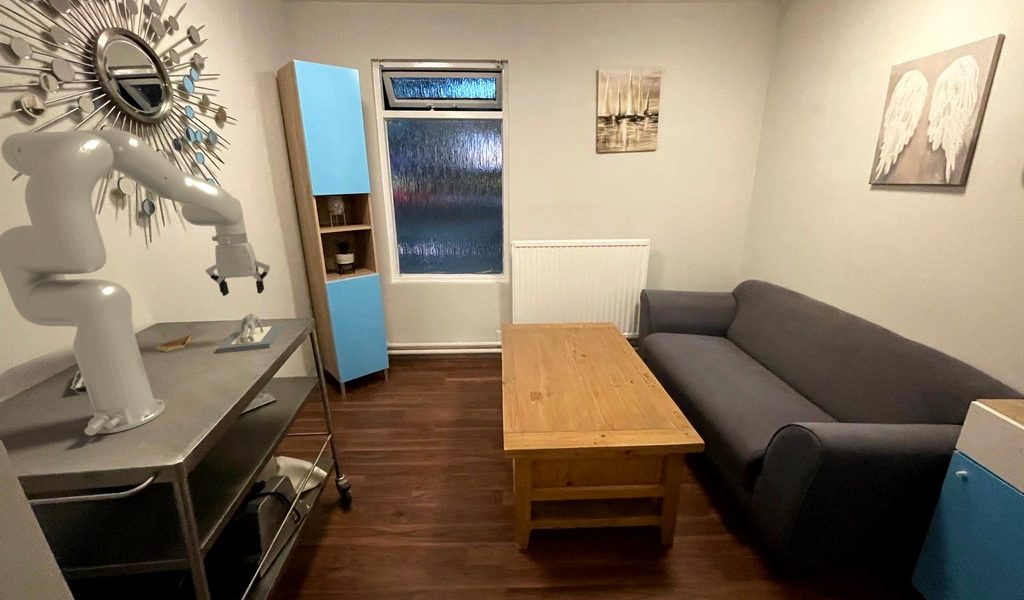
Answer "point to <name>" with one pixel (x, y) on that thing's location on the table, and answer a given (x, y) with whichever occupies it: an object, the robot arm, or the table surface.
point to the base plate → (259, 339)
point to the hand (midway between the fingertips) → (243, 293)
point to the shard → (174, 344)
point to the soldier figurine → (249, 326)
